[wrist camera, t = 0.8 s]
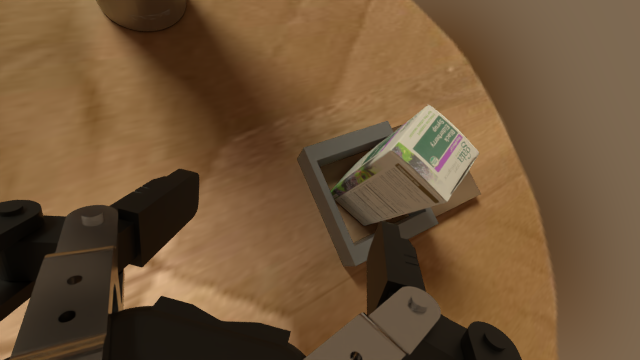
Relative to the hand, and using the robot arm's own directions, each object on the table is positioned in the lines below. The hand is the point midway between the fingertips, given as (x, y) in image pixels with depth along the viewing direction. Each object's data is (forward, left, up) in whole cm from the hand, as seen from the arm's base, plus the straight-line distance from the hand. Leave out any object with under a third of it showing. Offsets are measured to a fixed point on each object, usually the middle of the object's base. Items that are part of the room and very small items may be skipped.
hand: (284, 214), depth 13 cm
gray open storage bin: (-1, +13, -19) cm, 23 cm away
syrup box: (-1, +13, -19) cm, 23 cm away
